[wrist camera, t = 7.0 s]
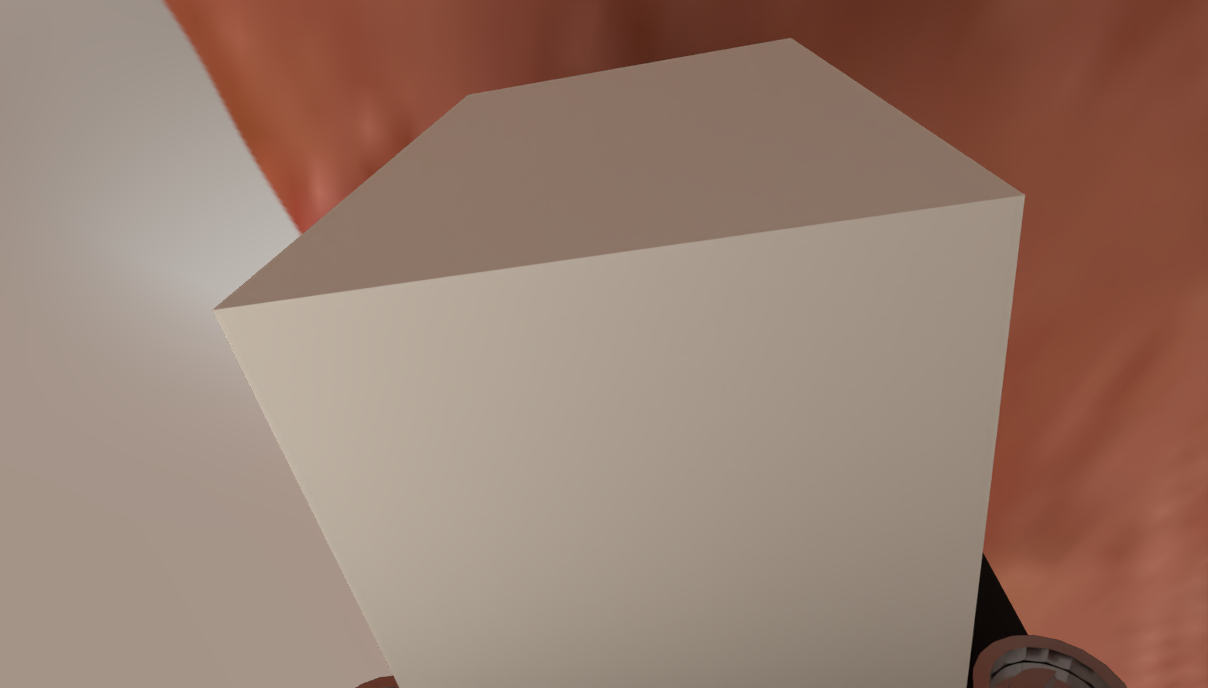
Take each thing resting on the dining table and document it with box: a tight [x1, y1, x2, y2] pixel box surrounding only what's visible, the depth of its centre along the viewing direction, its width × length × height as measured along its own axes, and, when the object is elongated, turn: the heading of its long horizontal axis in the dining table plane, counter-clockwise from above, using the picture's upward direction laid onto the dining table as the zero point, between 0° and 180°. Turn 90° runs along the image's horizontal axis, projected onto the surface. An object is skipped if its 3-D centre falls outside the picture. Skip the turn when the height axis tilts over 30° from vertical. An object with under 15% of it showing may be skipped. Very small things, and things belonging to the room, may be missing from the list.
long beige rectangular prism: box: [213, 38, 1025, 688], centre depth 9 cm, size 4×12×6 cm, turn 10°
